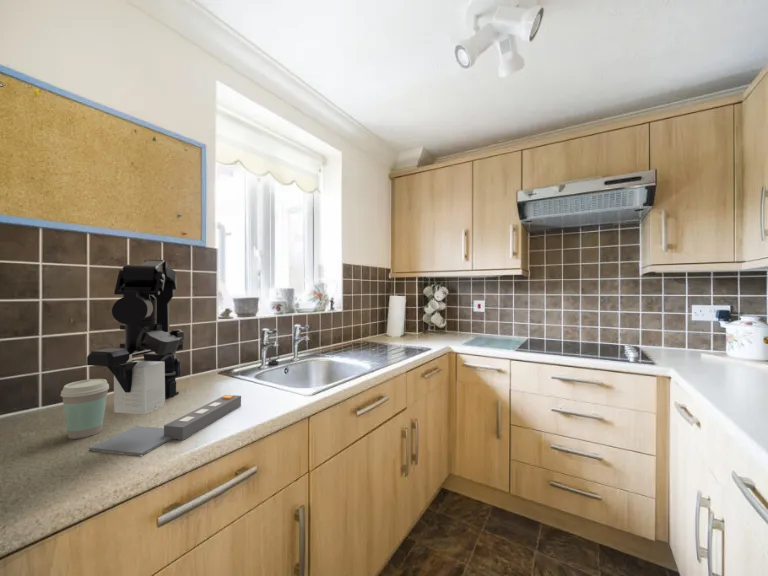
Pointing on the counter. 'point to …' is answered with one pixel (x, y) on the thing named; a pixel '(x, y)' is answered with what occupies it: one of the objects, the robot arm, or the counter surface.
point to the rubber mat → (133, 441)
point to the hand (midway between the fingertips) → (140, 388)
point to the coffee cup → (84, 407)
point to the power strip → (201, 417)
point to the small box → (142, 389)
